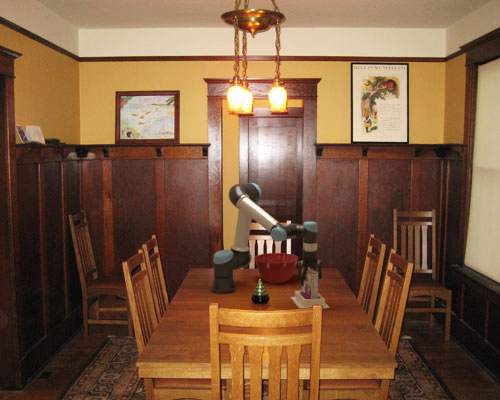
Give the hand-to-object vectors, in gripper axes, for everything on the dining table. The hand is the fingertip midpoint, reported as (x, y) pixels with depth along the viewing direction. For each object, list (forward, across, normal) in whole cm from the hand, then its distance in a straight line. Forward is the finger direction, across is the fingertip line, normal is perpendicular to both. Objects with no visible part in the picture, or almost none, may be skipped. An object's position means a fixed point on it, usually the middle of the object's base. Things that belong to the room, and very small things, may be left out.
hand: (309, 291), depth 257 cm
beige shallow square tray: (+6, 0, 0) cm, 6 cm away
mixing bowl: (+7, -8, +46) cm, 47 cm away
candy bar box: (+5, 0, 0) cm, 5 cm away
